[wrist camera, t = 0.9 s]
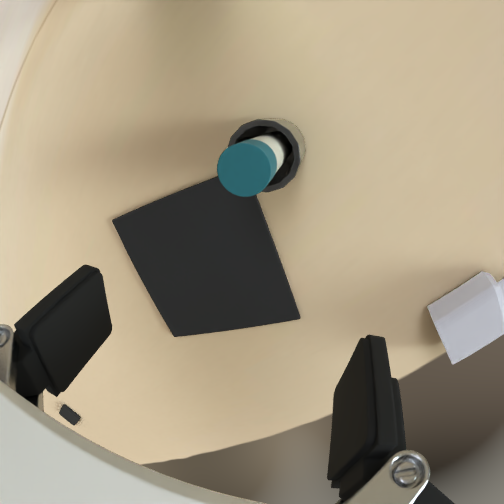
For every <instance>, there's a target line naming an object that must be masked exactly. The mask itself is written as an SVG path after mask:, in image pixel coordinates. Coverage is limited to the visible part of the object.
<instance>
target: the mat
mask: <svg viewBox="0 0 504 504" xmlns="http://www.w3.org/2000/svg"><path fill="white" fill-rule="evenodd" d="M112 222H113V224H114V226H115V228H116V230H117V232H118V234H119V236H120V238H121V240H122V243H123V245H124V247H125V249H126V251H127V253H128V255H129V257H130V259H131V261H132V262H133V264H134V266H135V268H136V270H137V272H138V274H139V276H140V278H141V280H142V281H143V283H144V285H145V287H146V289H147V291H148V293H149V294H150V296H151V298H152V300H153V301H154V303H155V305H156V307H157V309H158V310H159V312H160V314H161V315H162V317H163V319H164V321H165V322H166V324H167V326H168V327H169V329H170V331H171V332H172V334H173V336H174V337H178V336H187V335H196V334H204V333H212V332H220V331H227V330H234V329H241V328H248V327H255V326H261V325H267V324H274V323H280V322H285V321H291V320H297V319H300V314H299V311H298V309H297V306H296V303H295V300H294V297H293V294H292V292H291V289H290V286H289V283H288V280H287V278H286V275H285V272H284V269H283V267H282V264H281V261H280V258H279V256H278V253H277V250H276V247H275V245H274V242H273V239H272V236H271V234H270V231H269V228H268V226H267V223H266V220H265V218H264V215H263V212H262V210H261V207H260V204H259V202H258V199H257V196H256V195H253V196H249V197H242V196H237V195H235V194H232V193H231V192H229V191H228V190H227V189H226V188H225V187H224V186H223V185H222V183H221V182H220V180H219V177H215V178H212V179H210V180H207V181H204V182H202V183H199V184H197V185H194V186H191V187H189V188H186V189H184V190H181V191H179V192H176V193H174V194H171V195H169V196H166V197H164V198H162V199H159V200H157V201H154V202H152V203H150V204H147V205H145V206H143V207H140V208H138V209H136V210H133V211H131V212H129V213H127V214H124V215H122V216H120V217H118V218H116V219H113V220H112Z"/></svg>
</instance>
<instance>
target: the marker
mask: <svg viewBox="0 0 504 504" xmlns="http://www.w3.org/2000/svg"><path fill="white" fill-rule="evenodd" d="M291 151H292V145H291V143H290V142H289V140H288V138H287V137H286V135H285V134H283V133H282V132H279V131H273V132H269V133H267V134H264V135H261V136H258V137H255V138H252V139H250V140H245V141H242V142H239V143H236V144H234V145H231V146H230V147H228V148H227V149H226V150H224V152H223V153H222V154H221V156H220V158H219V160H218V164H217V173H218V177H219V180H220V182H221V183H222V185H223V186H224V187H225V188H226V189H227V190H228V191H229V192H231V193H232V194H235V195H237V196H242V197H249V196H253V195H256V194H258V193H260V192H261V191H262V190H263V189H264V188H265V187H266V186H267V185H268V183H269V182H270V181H271V179H272V178H273V177H274V175H275V173H276V172H277V171H278V169H279V168H280V167H281V166H282V164H283V163H284V162H285V161H286V159H287V158H288V157H289V155H290V154H291Z"/></svg>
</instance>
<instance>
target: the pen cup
mask: <svg viewBox="0 0 504 504" xmlns="http://www.w3.org/2000/svg"><path fill="white" fill-rule="evenodd" d="M273 131H279V132H282V133H283V134H285V135H286V137H287V138H288V140H289V142H290V143H291V145H292V151H291V154H290V155H289V157H288V158H287V159H286V161H285V162H284V163H283V164H282V166H281V167H280V168H279V169H278V171H277V172H276V173H275V175H274V177H273V178H272V179H271V181H270V182H269V183H268V185H267V186H266V187H265V188H264V189H263V190H262V191H261V192H271V191H274V190H277V189H281V188H283V187H285V186H286V185H287V184H288V183H289V182H290V181H291V180H292V179H293V178H294V177H295V176H296V173H297V171H298V169H299V166H300V164H301V162H302V159H303V156H304V154H305V150H306V149H305V140H304V137H303V134H302V133H301V131H300V130H299V129H298V127H297V126H295V125H294V124H293V123H291V122H289V121H287V120H285V119H276V118H268V119H257V120H254V121H251V122H249V123H246V124H243V125H242V126H241V127H240V128H239V129H238V130H237V131H236V132H235V133H234V134H233V135H232V136H231V138H230V142H229V145H228V147H230V146H231V145H234V144H236V143H239V142H242V141H245V140H250V139H252V138H255V137H258V136H261V135H264V134H267V133H269V132H273Z"/></svg>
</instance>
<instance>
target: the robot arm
mask: <svg viewBox="0 0 504 504" xmlns="http://www.w3.org/2000/svg"><path fill="white" fill-rule="evenodd" d="M14 326H15V328H16V331H15V332H13V330H12V328H11V327H10V326H8V325H5V324H0V504H265V503H261V502H256V501H252V500H247V499H242V498H238V497H234V496H230V495H226V494H223V493H219V492H215V491H212V490H208V489H205V488H202V487H198V486H195V485H192V484H189V483H186V482H183V481H180V480H177V479H174V478H172V477H169V476H167V475H163V474H161V473H159V472H156V471H154V470H151V469H148V468H146V467H144V466H142V465H139V464H137V463H135V462H133V461H130V460H128V459H126V458H124V457H122V456H120V455H118V454H115V453H113V452H111V451H109V450H107V449H105V448H104V447H102V446H100V445H98V444H96V443H94V442H92V441H90V440H89V439H87V438H85V437H83V436H81V435H80V434H78V433H76V432H75V431H73V430H71V429H70V428H68V427H66V426H65V425H63V424H61V423H60V422H58V421H57V420H55V419H54V418H52V417H51V416H49V415H48V414H46V413H45V412H44V406H43V391H44V389H45V388H46V389H47V391H48V392H50V393H51V394H53V395H55V396H56V397H57V396H58V395H59V394H60V392H64V391H65V390H66V389H67V388H68V386H69V385H70V384H71V382H72V381H73V380H74V379H75V377H76V376H77V375H78V374H79V372H80V371H81V370H82V368H83V367H84V366H85V365H86V363H87V362H88V361H89V360H90V358H91V357H92V356H93V355H94V354H95V352H96V351H97V350H98V349H99V347H100V346H101V345H102V344H103V343H104V341H105V340H106V339H107V338H108V337H109V335H110V334H111V331H112V324H111V319H110V314H109V309H108V304H107V299H106V293H105V287H104V282H103V276H102V274H101V273H100V270H99V269H98V268H95V267H92V266H89V265H83V266H82V267H80V268H79V269H78V270H77V271H75V272H74V273H73V274H72V275H71V276H69V277H68V278H67V279H66V280H64V281H63V282H62V283H61V284H60V285H58V286H57V287H56V288H55V289H54V290H53V291H51V292H50V293H49V294H48V295H47V296H45V297H44V298H43V299H42V300H41V301H40V302H39V303H37V304H36V305H35V306H34V307H33V308H32V309H31V310H30V311H28V312H27V313H26V314H25V315H24V316H23V317H22V318H21V319H20V320H19V321H18V322H16V323H15V324H14ZM429 476H430V468H429V464H428V463H427V460H426V459H425V458H424V457H423V456H422V455H421V454H419V453H417V452H416V451H411V450H406V442H405V431H404V421H403V412H402V404H401V398H400V390H399V384H398V380H397V379H396V378H391V372H390V366H389V359H388V353H387V347H386V341H385V338H384V337H380V336H374V335H367V336H366V338H361V339H360V340H359V342H358V344H357V346H356V349H355V351H354V353H353V355H352V357H351V359H350V361H349V363H348V365H347V367H346V369H345V371H344V373H343V375H342V377H341V379H340V381H339V383H338V384H337V386H336V389H335V392H334V399H333V416H332V431H331V443H330V454H329V464H328V474H327V479H328V480H332V484H331V488H340V491H339V497H340V498H341V499H340V500H338V501H337V502H336V503H335V504H454V503H453V502H452V501H451V500H450V499H449V498H447V497H446V496H445V495H444V494H443V493H442V492H441V491H439V490H438V489H437V488H436V487H435V486H434V485H433V484H432V483H430V482H429V481H428V480H429Z"/></svg>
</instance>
